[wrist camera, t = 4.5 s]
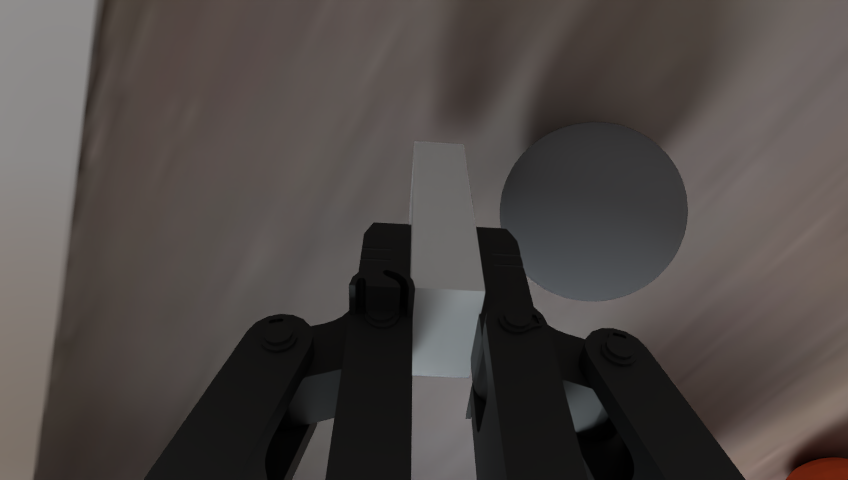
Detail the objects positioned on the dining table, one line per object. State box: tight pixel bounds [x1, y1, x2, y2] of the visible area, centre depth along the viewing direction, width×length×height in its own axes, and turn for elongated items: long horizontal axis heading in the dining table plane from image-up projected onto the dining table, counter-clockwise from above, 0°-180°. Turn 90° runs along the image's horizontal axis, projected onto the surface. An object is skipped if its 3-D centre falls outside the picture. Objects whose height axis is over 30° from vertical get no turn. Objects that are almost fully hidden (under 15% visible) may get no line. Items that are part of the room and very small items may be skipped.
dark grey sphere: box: [500, 122, 688, 301], centre depth 16 cm, size 6×6×6 cm
